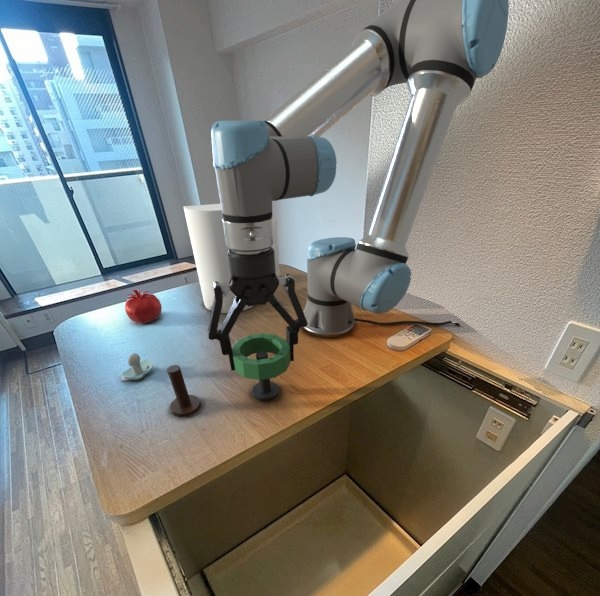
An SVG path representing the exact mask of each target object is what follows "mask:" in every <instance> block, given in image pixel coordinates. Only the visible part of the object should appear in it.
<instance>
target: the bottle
mask: <svg viewBox="0 0 600 596" xmlns="http://www.w3.org/2000/svg"><path fill="white" fill-rule="evenodd" d="M272 222H273V237H274V244H273V245H272V246H271V247H272V248H273V249H274V253H275V271H276V276H277V277H281V270H280V256H279V238H278V235H279V234H278V220H277V218H276V215H275V213H274V211H272Z"/></svg>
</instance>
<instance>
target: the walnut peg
mask: <svg viewBox="0 0 600 596" xmlns="http://www.w3.org/2000/svg"><path fill="white" fill-rule="evenodd" d="M166 372H167V375H168V377H169V378H168V379H169V380H170V384H171V387H172V389H173V392H174V395H175V399H173V400H172V401H171V403H170V405H169V409H170V413H171V414H172V415H173V416H175V417H177V418H188V417H191V416H193V415H195V414H197V413H198V411H199V410H200V409H201V406H202V404H201V400H200V398H199V397H198V396H196V395H194V394H189V392H188V389H187V385H186V382H185V378H184V376H183V372H182V369H181V366H179V365H178V364H171V365H170V366H169V365H168V367H167V368H166Z"/></svg>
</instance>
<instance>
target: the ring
mask: <svg viewBox="0 0 600 596" xmlns="http://www.w3.org/2000/svg"><path fill="white" fill-rule="evenodd" d="M231 347H232V353H233V360H234V366H235V370H234V371H235V373H236V374H238V375H240V376H241V377H242V378H245V379H249V380H255V381H259V380H264V379H270V380H271V379H275V378H277V377H279V376H280V375H282V374H284V373H286V372H287V371H288V369H289V367H290V364H291V361H290V347H289V345H288V342H287V339H285V338H283V337H281V336H279V335H278V334H271V333H263V332H262V333H255V334H249V335H246V336H244V337H241V338H240V339H237V340H236V341H235V342H234V344H233V345H232V346H231ZM261 351H264V352H267V353H268V354H274V355H273V356H271V357H268V358H267V359H260V360H257V359H256V358H248V357H249V356H250V357H251V356H253V354H256V353H258V352H261Z"/></svg>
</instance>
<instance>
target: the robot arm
mask: <svg viewBox="0 0 600 596" xmlns="http://www.w3.org/2000/svg"><path fill="white" fill-rule="evenodd" d="M509 1H510V0H398V1H396V2H395V3H394V4H392V5H391V6H390V7H389V8H387V9H385V11H383V12H382V13H381V14H380V15H378V16H377V17H376V18H375V19H374V20H373V21H371V22H370V23H369V24H368V25H366V27H364V28H363V29H361V31H360V32H358V33H357V34H356V35H355V37H354V38H353V41H352V43H351V47H350V48H349V49H348V50H347V51H345V53H343V54H342V55H341V56H339V58H337V59H336V60H335V61H334V62H333V63H332V64H330V65H329V66H328V67H327V68H325V69H324V70H323V71H322V72H320V73H319V74H318V75H317V76H315V78H313V79H312V80H310V82H308V84H306V85H305V86H304V87H302V88H301V89H300V90H298V92H296V93H295V94H294V95H293V96H291V97H290V98H289V99H287V101H285V102H284V103H283V104H282V105H281V106H280V107H278V108H277V109H276V110H274V111H273V112H272V113H271V114H269V115H268V116H267V117H266V118H265V119H264V120H260V119H257V120H255V119H254V120H218V121H215V122H214V123H213V124H212V126H211V129H210V130H211V131H210V135H211V148H212V159H213V162H212V165H213V168H214V171H215V177H216V184H217V189H218V198H219V204H221V211H222V217H223V219H222V220H223V227H224V234H225V241H226V246H227V247H228V248H230V249H229V251H228V252H227V254H228V261H229V268H230V275H231V278H230V281H229V283H221V284H220V283H219V282H217V281H216V282H214V283H213V288H214V293H215V296H214V301H213V306H212V311H211V310H210V311H211V312H210V317H209V322H208V328H207V334H208V339H209V340H211V341H214V340H217V341H218V342H219V345H220V350H221V354H222V355H223V356H228V360H229V366H230V371H231V372H233V371H235V366H234V360H233V353H232V347H233V346H232V342H231V337H230V333H231V331H232V329H233V328H234V326H235V324H236V322H237V320H238V318H239V316H240V315H241V313H242V312H244V311H243V309H244V307H245V305H248V307H249V306H253V307H254V306H256V305H258V306H264V305H265V306H266V304H267V303H269V304H270V306H272V308H273V309H274V310H275V311H276V312H277V313H278V314H279V316H280V317H281V318H282V319H283V321H284V322H285V323H286V324H287V325H288V326H287V325H286V326H285V335H286V337H285V338H286V339H285V340H287V342H288V345H289V347H290V362H295V356H294V355H295V354H294V353H295V352H294V351H295V349H294V345H298V343H299V333H300V331H301V329H302V331H303V332H304V333H306V334H307V335H309V336H311V337H315V338H318V339H319V338H320V339H325V340H329V339H331V340H332V339H339V338H342V337H345V336H348V335H349V334H351V333H352V332H353V331H354V329H355V322H360V323H367V324H372V325H377V326H394V325H403V324H404V325H406V324H408V325H409V324H412V325H413V324H414V325H426V326H427V325H428V326H446V325H450V324H452V325H453V324H454V325H455V326H457V327H460V326H461V324H460V323H459V322H458V323H452V322H451V321H452V320H448V321H443V322H431V321H419V320H401V321H391V322H380V321H379V322H378V321H373V320H369V319H362V318H356V317H355V316H354V312H353V307H352V305H354V306H356V307H358V308H360V309H362V310H363V311H368V312H370V313H373V314H376V315H381V314H386V313H388V312H390V311H392V310H393V309H394V307H396V306H397V305H398V304H399V303H400V302H401V301H402V299H403V298H404V297H405V295H406V293H407V291H408V289H409V287H410V284H411V282H412V281H411V279H412V270H411V268H410V266H409V265H408V264H407V262H408V260H409V257H410V255H409V252H408V250H407V247H406V245H407V243H408V239H409V237H410V234H411V231H412V228H413V226H414V224H415V221H416V219H417V215H418V212H419V210H420V208H421V205H422V203H423V202H422V201H423V199H424V196H425V193H426V191H427V188H428V185H429V182H430V180H431V177H432V175H433V172H434V169H435V166H436V163H437V160H438V158H439V155H440V153H441V149H442V147H443V144H444V142H445V139H446V136H447V133H448V131H449V129H450V126H451V123H452V120H453V118H454V115H455V112H456V110H457V107H458V106H460V105H462V104H463V103H464V102H465V101H467V100H468V99H469V97H470V95H471V94H472V90H473V87H474V85H475V82H476V80H477V79H483V78H484V77H486V76H488V75H489V74H490V73H491V72H492V71H493V70H494V68H495V66H496V65H497V63H498V61H499V59H500V56H501V53H502V50H503V47H504V43H505V39H506V35H507V29H508V22H509ZM400 84H401V85H402V84H406V87H407V89H408V92H409V94H410V98H409V100H408V104H407V107H406V111H405V114H404V117H403V120H402V123H401V127H400V129H399V132H398V136H397V138H396V139H397V140H396V143H395V146H394V149H393V152H392V155H391V158H390V161H389V165H388V169H387V171H386V175H385V177H384V181H383V184H382V187H381V190H380V194H379V197H378V200H377V203H376V206H375V209H374V213H373V216H372V219H371V223H370V225H369V229H368V231H367V234H366V235H365V236H364V237H362V238H361V239H359V240H358V241H357V243H356V240H355V238H353V237H346V236H345V237H344V236H337V237H335V236H334V237H327V238H326V237H325V238H320V239H318V240H317V239H316V240H315V241H312V242H311V243H310V245H308V246H309V247H308V248H307V258H306V265H307V266H306V268H307V269H306V271H307V272H306V273H307V275H306V276H307V279H306V281H307V299H306V303H305V306H304V309H303V308H302V305H301V303H300V300H299V298H298V295H297V293H296V285H295V283H296V282H295V278H293V276H292V275H291V274H290V273H286V274H285V275H284V276H280V277H277V276H276V271H275V253H274V249H273V248H272V247H271V246H272V245H273V244H274V237H273V222H272V212H273V202H275V201H276V202H277V201H280V200H287V199H296V198H302V197H314V196H315V195H319V194H323V193H325V192H327V191H328V190H329V189H330V188H331V187H332V185H333V184H334V182H335V178H336V176H337V175H336V174H337V164H338V163H337V155H336V151H335V148H334V147H333V145H332V143H331V142H330V141H329V140H328V139H327V138H325V137H323V135H324V134H325V133H327V132H328V130H330V129H331V128H332V127H333V126H334V125H336V124H337V123H338V122H339V121H340V120H341V119H343V118H344V117H345V116H346V115H347V114H349V112H351V111H352V110H353V109H354V108H356V107H357V106H358V105H360V103H362V102H363V101H364V100H365V99H366V98H367V97H376V96H378V95H380V94H381V93H382V92H383V91H384V90H386V89H387V88H390V87H393V86H396V85H400ZM279 286H280V287H281V288H282V289H283V290H284V291H285V292H286V294H287V296H288V299H289V301H290V303H291V305H292V309H293V310H294V312H295V315H296V317H297V318H296V319H295V318H294V317H292V315H291V314H290V313H289V311H288V310H287V309H286V308H285V307H284V305H283V304H282V303H281V302H280V301H279V299H278V298H277V296H276V295H275V292H276V291H277V289H278V287H279ZM230 290H231V292H232V293H233V294H234V295H235V296H236V297H235V299H234V301H233V304H232V306H231V308H230V310H229V312H228V313H226V316H225V318H224V320H223V321H222V324H221V325H220V328H219V324H220V323H219V322H220V319H221V314H222V313H221V309H222V304H223V297H226V295H227V292H228V291H230ZM218 328H219V329H218Z"/></svg>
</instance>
